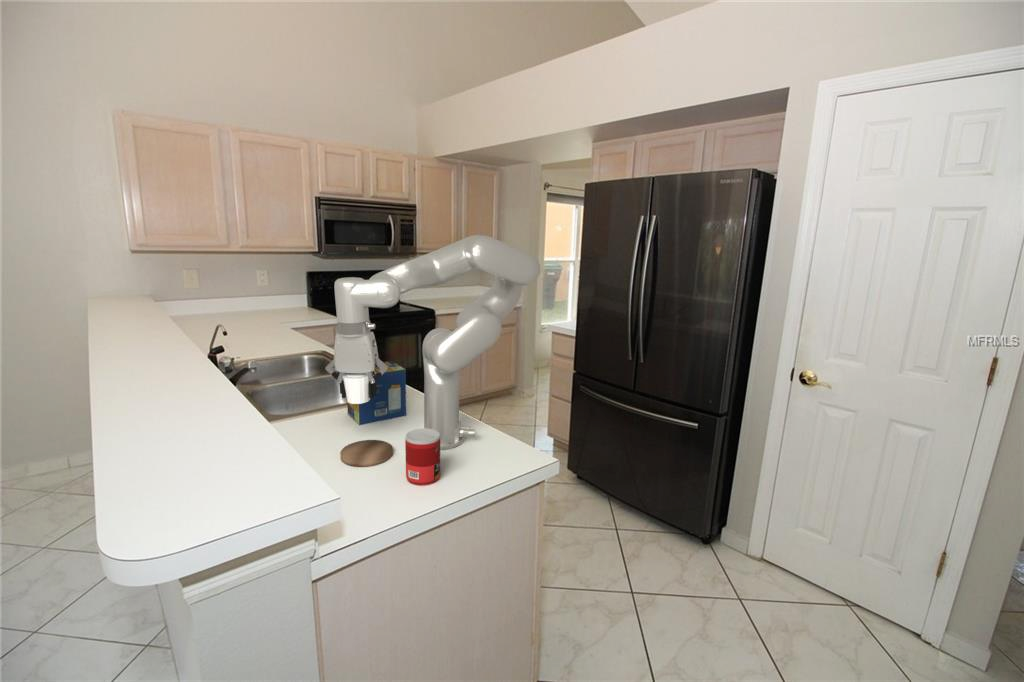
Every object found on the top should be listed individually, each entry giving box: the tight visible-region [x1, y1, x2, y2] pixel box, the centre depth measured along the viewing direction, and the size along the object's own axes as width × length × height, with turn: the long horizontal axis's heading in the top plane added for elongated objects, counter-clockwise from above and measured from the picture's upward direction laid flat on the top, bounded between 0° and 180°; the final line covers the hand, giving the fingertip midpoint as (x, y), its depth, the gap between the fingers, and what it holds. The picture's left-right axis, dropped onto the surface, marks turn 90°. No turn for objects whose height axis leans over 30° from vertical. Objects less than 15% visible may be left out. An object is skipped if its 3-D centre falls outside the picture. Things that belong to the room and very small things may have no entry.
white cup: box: [343, 373, 370, 404], centre depth 122 cm, size 7×7×7 cm
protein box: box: [346, 360, 407, 426], centre depth 147 cm, size 10×15×16 cm
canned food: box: [404, 427, 441, 486], centre depth 112 cm, size 8×8×11 cm
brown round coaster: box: [339, 439, 394, 468], centre depth 123 cm, size 13×13×1 cm
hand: (358, 395), depth 122 cm, fingers closed on white cup, 6 cm apart
